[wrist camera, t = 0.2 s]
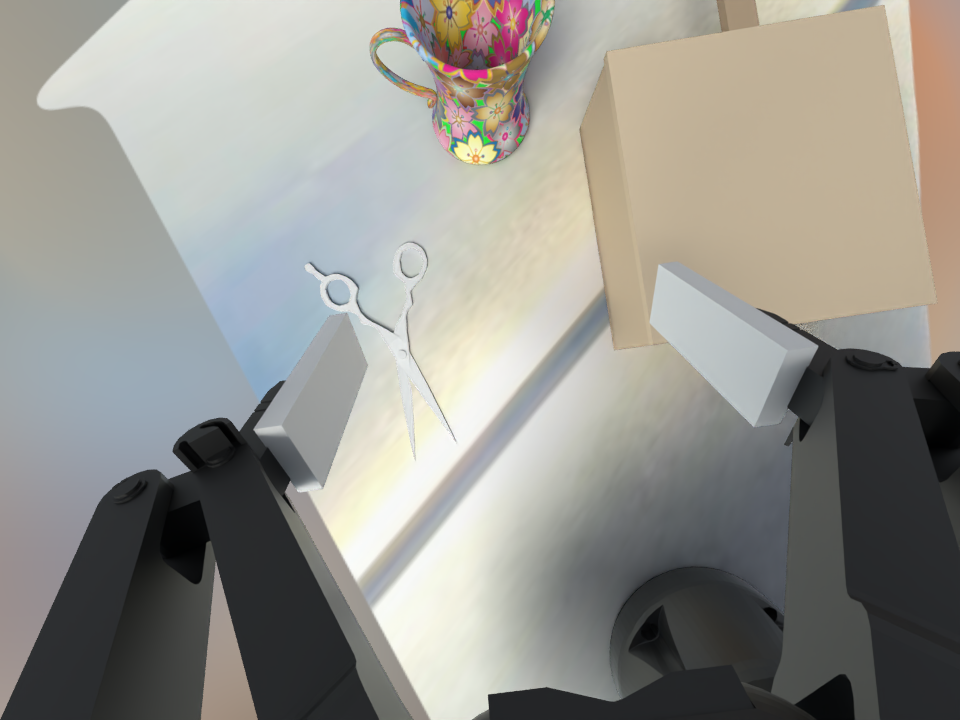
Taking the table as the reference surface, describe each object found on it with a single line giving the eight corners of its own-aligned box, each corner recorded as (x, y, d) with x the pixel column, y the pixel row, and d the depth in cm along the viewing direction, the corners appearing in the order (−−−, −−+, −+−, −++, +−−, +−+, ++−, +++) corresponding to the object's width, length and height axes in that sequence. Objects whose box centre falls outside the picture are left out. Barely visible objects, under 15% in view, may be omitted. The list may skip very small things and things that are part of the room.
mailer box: (820, 319, 30) (921, 305, 23) (614, 350, 30) (651, 345, 23) (782, 96, 30) (870, 15, 23) (579, 129, 31) (606, 59, 24)
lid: (899, 308, 24) (969, 298, 21) (639, 346, 25) (665, 343, 21) (828, -95, 25) (885, -173, 21) (576, -51, 25) (591, -120, 22)
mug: (526, 67, 31) (546, -89, 20) (538, 168, 31) (563, 64, 20) (395, 84, 31) (347, -61, 21) (405, 184, 31) (362, 89, 20)
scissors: (413, 222, 31) (492, 433, 30) (415, 226, 32) (492, 431, 31) (303, 265, 31) (379, 475, 30) (308, 267, 32) (382, 472, 31)
